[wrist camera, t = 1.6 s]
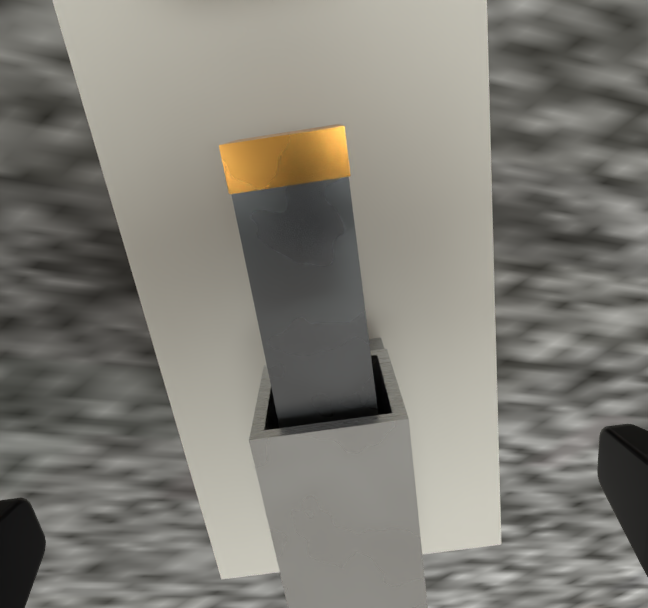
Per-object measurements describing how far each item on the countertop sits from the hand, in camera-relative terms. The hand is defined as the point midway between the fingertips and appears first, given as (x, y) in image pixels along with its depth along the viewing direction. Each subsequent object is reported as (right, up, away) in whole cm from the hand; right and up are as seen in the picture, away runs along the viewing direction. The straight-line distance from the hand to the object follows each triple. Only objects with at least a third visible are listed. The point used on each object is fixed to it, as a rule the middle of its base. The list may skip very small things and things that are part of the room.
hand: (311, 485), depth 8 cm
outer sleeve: (+1, -3, +15) cm, 16 cm away
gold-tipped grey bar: (0, 0, +10) cm, 10 cm away
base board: (0, +5, +12) cm, 13 cm away
